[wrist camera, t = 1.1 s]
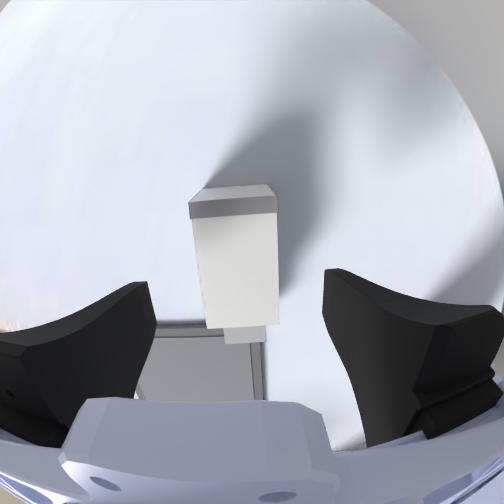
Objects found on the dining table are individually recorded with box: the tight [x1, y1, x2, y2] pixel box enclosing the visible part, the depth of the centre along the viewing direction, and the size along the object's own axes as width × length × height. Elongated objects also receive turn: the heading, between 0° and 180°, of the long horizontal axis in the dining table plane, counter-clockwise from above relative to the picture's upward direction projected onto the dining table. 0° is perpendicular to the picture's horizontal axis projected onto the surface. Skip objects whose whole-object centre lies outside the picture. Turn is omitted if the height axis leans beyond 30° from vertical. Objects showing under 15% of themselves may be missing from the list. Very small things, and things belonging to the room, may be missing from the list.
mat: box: [135, 324, 263, 402], centre depth 23 cm, size 12×15×1 cm
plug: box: [188, 184, 279, 344], centre depth 17 cm, size 4×9×5 cm, turn 3°
